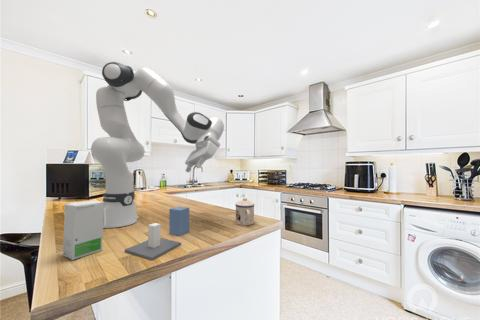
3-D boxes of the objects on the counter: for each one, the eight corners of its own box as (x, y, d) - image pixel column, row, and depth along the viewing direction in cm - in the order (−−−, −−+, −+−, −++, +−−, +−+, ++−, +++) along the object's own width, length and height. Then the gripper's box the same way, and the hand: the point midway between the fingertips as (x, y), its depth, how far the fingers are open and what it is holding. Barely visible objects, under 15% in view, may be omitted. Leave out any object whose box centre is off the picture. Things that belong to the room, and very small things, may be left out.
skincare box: (71, 261, 57) (72, 206, 57) (61, 255, 60) (62, 203, 60) (103, 250, 64) (104, 201, 64) (93, 245, 67) (94, 199, 67)
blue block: (169, 233, 79) (169, 208, 79) (178, 229, 84) (179, 206, 84) (179, 235, 77) (180, 210, 77) (189, 231, 81) (189, 207, 82)
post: (124, 252, 62) (125, 227, 63) (155, 238, 73) (156, 217, 73) (152, 260, 57) (152, 233, 57) (181, 245, 68) (181, 222, 68)
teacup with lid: (233, 220, 98) (233, 196, 98) (251, 219, 100) (251, 196, 100) (238, 228, 86) (238, 201, 86) (258, 227, 88) (258, 200, 88)
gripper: (189, 147, 99) (176, 170, 92) (211, 134, 84) (197, 159, 77) (199, 155, 102) (187, 177, 94) (222, 143, 87) (210, 168, 79)
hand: (192, 169), depth 85 cm, fingers open, 8 cm apart
